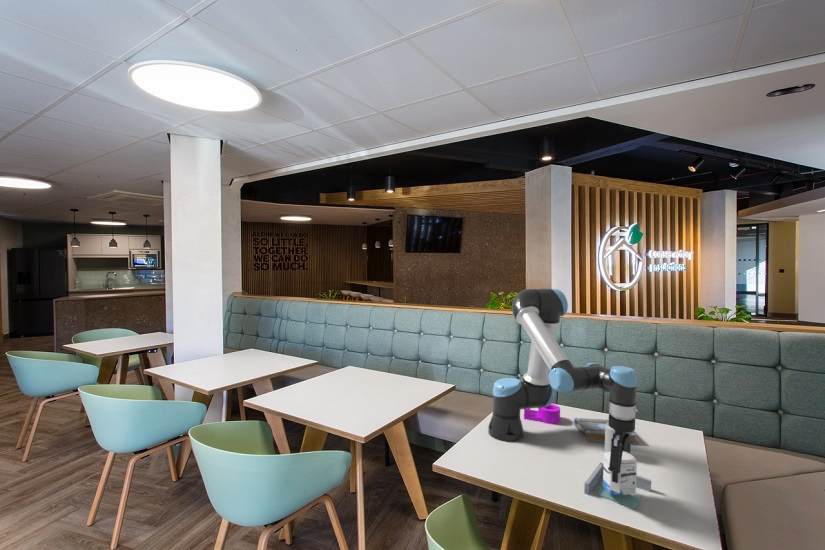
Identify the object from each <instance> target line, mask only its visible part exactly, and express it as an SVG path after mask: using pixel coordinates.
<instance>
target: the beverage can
mask: <svg viewBox="0 0 825 550" xmlns="http://www.w3.org/2000/svg"><path fill="white" fill-rule="evenodd" d="M608 423H609V422H607V424H606V425H605V442H604V453H606V452H611V439H612V438H613V433H615V430H614V429H613V428H611V427H610V426H609V424H608Z"/></svg>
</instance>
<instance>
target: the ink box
mask: <svg viewBox="0 0 825 550" xmlns="http://www.w3.org/2000/svg"><path fill="white" fill-rule="evenodd" d="M610 454H611V452H604V453H603V464H604V467H603V475H602V487H604V488H605V490H606V491H607V492H608V493H609V494H610V495H628V494H630V495H636V494H637V487H636V475H637V468H638V467H637V465H638V459H637V457H635V456H634V455H632V453H631V454H630V453H629V452H623V454H622V461H621V468H620V472H621V486H620V493H618V492H615V491H612V490H610V482H611V471H609V470H608V468H609V465H610Z"/></svg>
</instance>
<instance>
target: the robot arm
mask: <svg viewBox="0 0 825 550" xmlns="http://www.w3.org/2000/svg"><path fill="white" fill-rule="evenodd" d="M567 299H568V298H567V296H566V295H565V293H564V292H562V291H561V290H560V289H558V288H550V287H549V288H525V289H522V290H520V291H519V292H518V293H517V294H516V295H515V296H514V298H513V299H512V304H511V311H512V314H513V318H514V319H515V321H516V322H517V324H519V325H521V326H522V327H523V329H524V330H525V332H526V334H527V336H528V337H529V339H530V340H531V342H530V349H529V356H528V363H527V372H526V373H524V374H523V376H522V381H521V380H520V379H518V378H516V377H503V378H499V379H498V380H495V382H494V384H493V388H492V416H491V419H490V422H489V424H488V427H487V428H488V429H487V431H488V434H489V435H490V436H491V437H492V438H494V439H496V440H498V441H499V440H500V441H503V442H504V441H505V442H517V441H520V440H522V439H523V438H524V435H525V434H524V433H525V430H524V426H523V422H522V420H521V410H524V409H530V410H531V409H538V408H542V407H547V406H549V405H551V404H553V402H554V399H555V395H556V393H555V391H556V392H568V393H569V392H572V391H573V392H574V391H581V390H582V391H585V390H595V389H598V390H603V391H604V392H606V393H608V394H609V397H608V398H609V399H608V401H609V403H608V413H609V414H608V420H609V423H608V424H609V426H610V427H611V428H613V429H614V430H615V433H613V438H612V439H611V454H610V465H609V468H608V470H609V471H611V482H610V490H612V491H615V492H618V493H620V486H621V472H620V468H621V461H622V454H623V452H629V453H630V454H631V455H632V453H631V452H632V451H631V444H630V432H633V431H634V432H635V430H636V419H635V418H636V413H638V412H639V411H638V408H636V407H637V391H638V390H637V388H638V379H637V378H638V376H637V375H638V374H637V371H636V370H635V369H633V368H631V367H628V366H623V365H613V366H612V367H611V368H609V367H606V366H605V365H602V364H600V363H594V362H588V363H586V364H584V365H583V366H574V365H573V363H572V362H571V360H570V359H569V357H568V355H566V353H565V351H564V350H563V348H562V347H561V346H560V344H559V343H558V341H557V340H556V339H555V337H554V334H555V327H556V326H557V325H558V324H559V323H560V320H561V319H560V318H561V317H563V316H565V315H566V314H567V312H568V307H569V306H568V305H569V304H568V300H567Z"/></svg>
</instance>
